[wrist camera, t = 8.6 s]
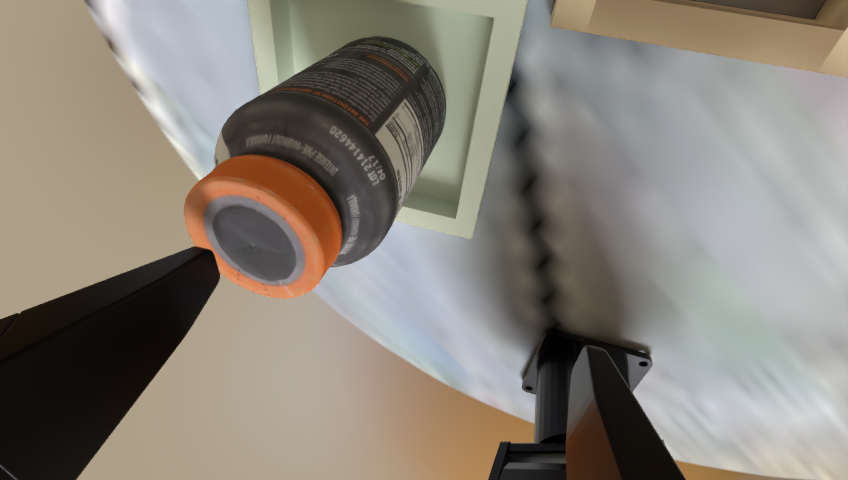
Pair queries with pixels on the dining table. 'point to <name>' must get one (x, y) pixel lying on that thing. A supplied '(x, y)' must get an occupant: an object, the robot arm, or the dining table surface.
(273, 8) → the tray
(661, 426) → the dining table surface
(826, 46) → the socket collar
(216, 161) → the pill bottle
